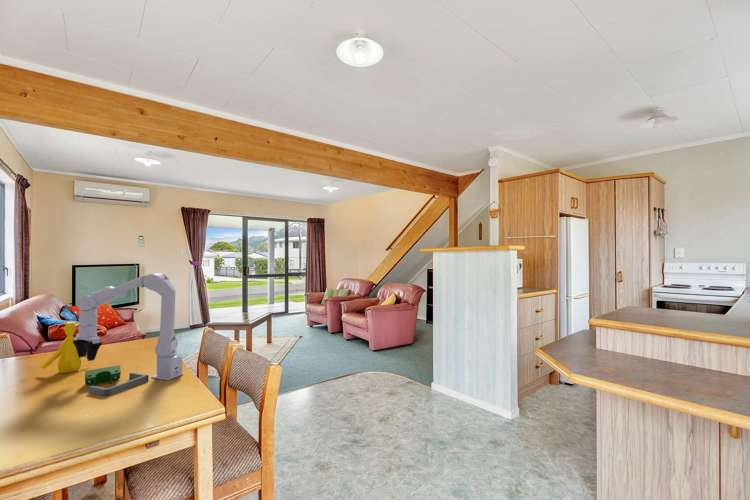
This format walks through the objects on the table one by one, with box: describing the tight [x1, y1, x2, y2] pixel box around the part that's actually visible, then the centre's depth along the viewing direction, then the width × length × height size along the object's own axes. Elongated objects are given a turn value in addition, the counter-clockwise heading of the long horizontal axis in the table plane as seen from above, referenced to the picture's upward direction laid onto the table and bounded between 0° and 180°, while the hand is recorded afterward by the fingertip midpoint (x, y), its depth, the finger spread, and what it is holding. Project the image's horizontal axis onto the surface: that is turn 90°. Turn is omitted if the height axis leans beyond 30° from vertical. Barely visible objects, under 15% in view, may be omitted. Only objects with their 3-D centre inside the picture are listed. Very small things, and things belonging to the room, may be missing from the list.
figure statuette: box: [41, 321, 93, 374], centre depth 154 cm, size 18×8×22 cm, turn 135°
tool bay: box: [88, 371, 149, 398], centre depth 137 cm, size 9×16×2 cm, turn 161°
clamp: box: [84, 364, 122, 386], centre depth 140 cm, size 12×6×9 cm, turn 123°
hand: (86, 358), depth 141 cm, fingers open, 7 cm apart
